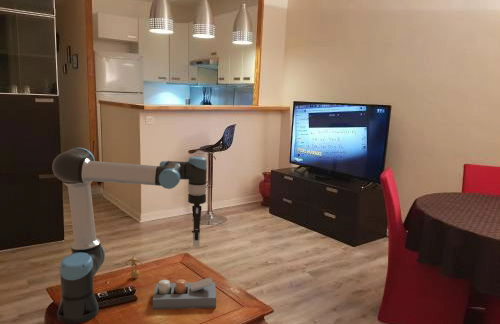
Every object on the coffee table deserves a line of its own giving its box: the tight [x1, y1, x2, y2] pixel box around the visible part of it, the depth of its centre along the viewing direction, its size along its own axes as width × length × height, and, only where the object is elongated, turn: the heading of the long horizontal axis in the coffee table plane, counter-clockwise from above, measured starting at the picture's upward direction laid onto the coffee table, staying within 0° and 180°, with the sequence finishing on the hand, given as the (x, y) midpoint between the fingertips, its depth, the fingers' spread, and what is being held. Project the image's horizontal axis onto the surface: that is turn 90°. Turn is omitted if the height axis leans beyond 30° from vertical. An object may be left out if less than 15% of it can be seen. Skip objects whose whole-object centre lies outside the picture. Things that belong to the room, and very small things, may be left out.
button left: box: [158, 279, 171, 295], centre depth 170 cm, size 5×5×4 cm
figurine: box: [125, 255, 144, 279], centre depth 188 cm, size 8×6×12 cm
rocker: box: [190, 276, 213, 292], centre depth 172 cm, size 9×6×2 cm, turn 97°
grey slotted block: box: [152, 281, 217, 311], centre depth 172 cm, size 26×14×6 cm, turn 97°
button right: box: [174, 278, 187, 294], centre depth 171 cm, size 5×5×4 cm
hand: (196, 240), depth 172 cm, fingers open, 13 cm apart
